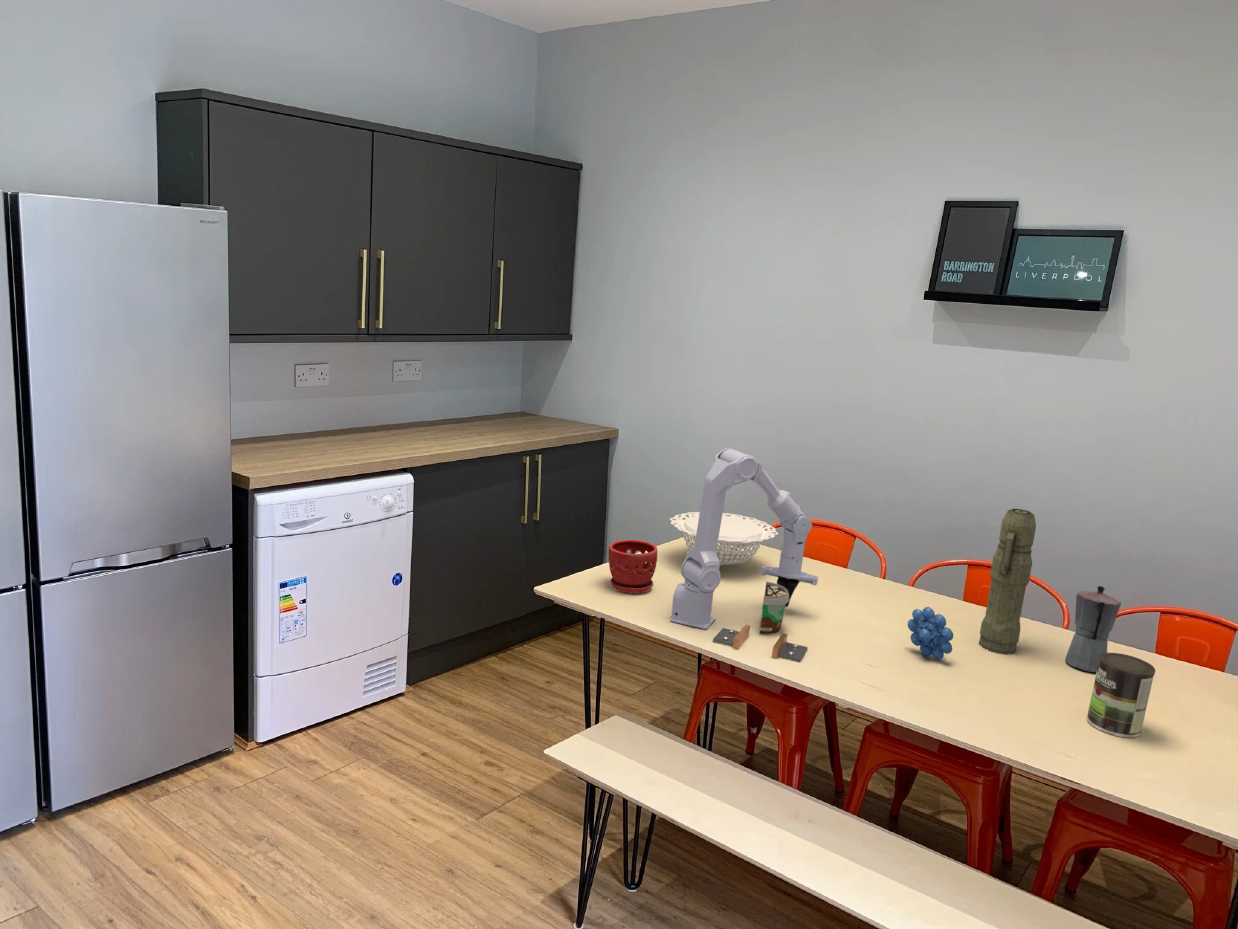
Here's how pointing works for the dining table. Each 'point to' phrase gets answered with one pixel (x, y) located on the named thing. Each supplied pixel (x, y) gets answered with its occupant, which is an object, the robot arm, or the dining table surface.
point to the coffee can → (1120, 694)
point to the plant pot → (632, 565)
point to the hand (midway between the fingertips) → (785, 605)
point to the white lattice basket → (728, 535)
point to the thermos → (1008, 582)
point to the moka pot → (1091, 628)
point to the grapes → (930, 633)
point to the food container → (773, 608)
